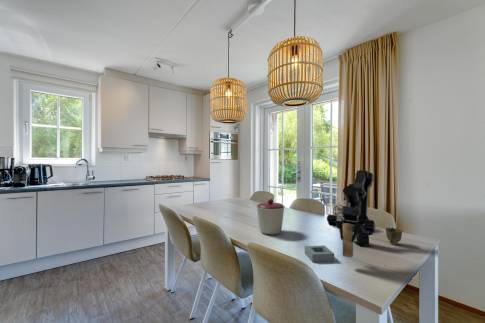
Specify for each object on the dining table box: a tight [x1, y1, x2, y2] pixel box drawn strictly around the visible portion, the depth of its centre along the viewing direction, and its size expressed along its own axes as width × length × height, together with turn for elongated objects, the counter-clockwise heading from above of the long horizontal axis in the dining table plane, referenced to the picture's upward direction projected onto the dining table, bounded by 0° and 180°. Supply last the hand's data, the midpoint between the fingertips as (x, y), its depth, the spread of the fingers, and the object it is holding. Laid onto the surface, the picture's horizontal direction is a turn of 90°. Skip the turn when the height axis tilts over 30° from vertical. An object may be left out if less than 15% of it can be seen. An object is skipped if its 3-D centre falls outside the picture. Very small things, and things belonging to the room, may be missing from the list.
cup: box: [385, 227, 403, 246], centre depth 124 cm, size 8×7×8 cm
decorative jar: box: [332, 199, 347, 229], centre depth 155 cm, size 12×12×18 cm
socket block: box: [304, 245, 335, 263], centre depth 107 cm, size 10×10×4 cm
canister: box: [255, 198, 286, 236], centre depth 145 cm, size 18×18×21 cm
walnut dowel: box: [342, 223, 354, 258], centre depth 97 cm, size 4×4×13 cm
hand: (347, 240), depth 96 cm, fingers closed on walnut dowel, 4 cm apart
